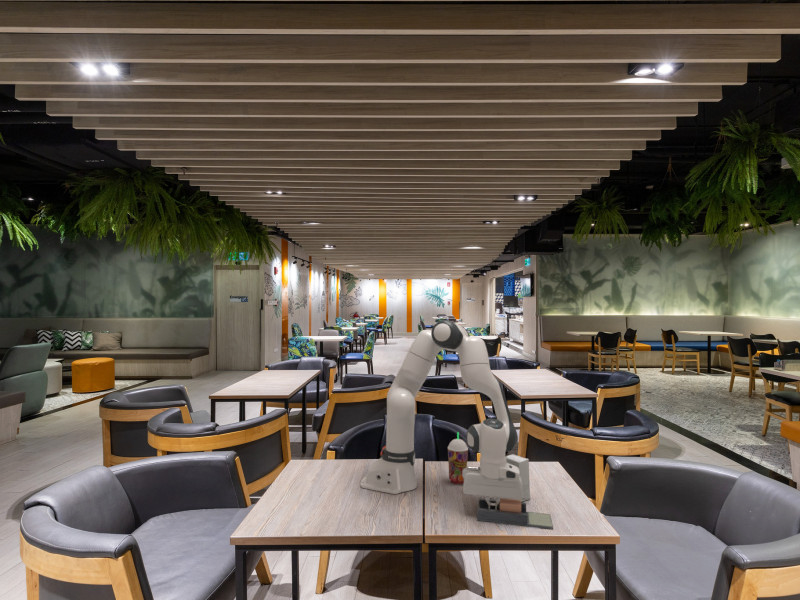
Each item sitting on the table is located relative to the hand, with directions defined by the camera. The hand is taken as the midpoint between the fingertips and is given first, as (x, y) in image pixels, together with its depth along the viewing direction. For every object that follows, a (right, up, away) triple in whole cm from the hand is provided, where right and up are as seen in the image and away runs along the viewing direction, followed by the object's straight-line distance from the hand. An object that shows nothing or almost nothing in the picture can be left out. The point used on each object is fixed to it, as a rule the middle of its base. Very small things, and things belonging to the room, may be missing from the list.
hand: (492, 509), depth 156 cm
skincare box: (+12, -3, +16) cm, 20 cm away
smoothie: (-8, -3, +31) cm, 32 cm away
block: (+6, -2, -1) cm, 6 cm away
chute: (+7, -2, -1) cm, 7 cm away
